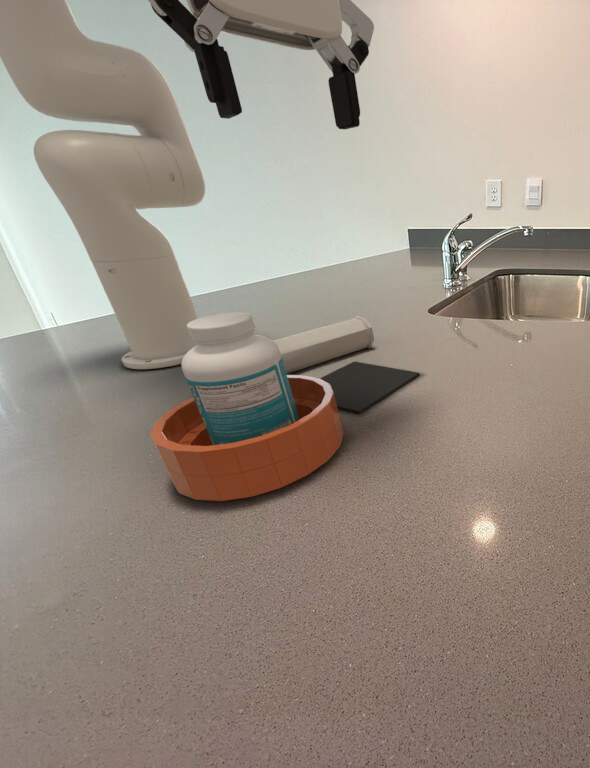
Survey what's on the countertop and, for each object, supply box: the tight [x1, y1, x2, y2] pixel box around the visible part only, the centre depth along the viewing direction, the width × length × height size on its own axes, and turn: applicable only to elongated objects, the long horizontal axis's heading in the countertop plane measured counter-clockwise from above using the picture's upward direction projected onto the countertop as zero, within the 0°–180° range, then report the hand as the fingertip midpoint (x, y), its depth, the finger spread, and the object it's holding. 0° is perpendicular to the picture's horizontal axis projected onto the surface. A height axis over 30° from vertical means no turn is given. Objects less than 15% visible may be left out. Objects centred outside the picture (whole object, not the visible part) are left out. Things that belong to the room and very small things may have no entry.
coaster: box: [319, 361, 421, 415], centre depth 55 cm, size 12×12×1 cm
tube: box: [272, 315, 375, 375], centre depth 60 cm, size 5×5×25 cm
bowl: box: [149, 374, 344, 502], centre depth 39 cm, size 15×15×6 cm
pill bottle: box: [180, 311, 300, 445], centre depth 38 cm, size 8×7×14 cm
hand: (295, 122), depth 35 cm, fingers open, 9 cm apart
